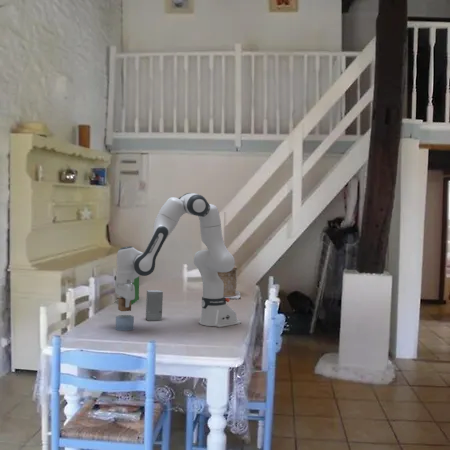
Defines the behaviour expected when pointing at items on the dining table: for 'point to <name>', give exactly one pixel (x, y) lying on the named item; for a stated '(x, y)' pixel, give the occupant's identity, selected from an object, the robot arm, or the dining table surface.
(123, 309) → the walnut block
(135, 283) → the hardback book
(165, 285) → the dining table surface
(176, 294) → the dining table surface
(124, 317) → the canister
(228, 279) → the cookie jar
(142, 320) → the dining table surface
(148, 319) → the skincare box
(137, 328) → the dining table surface
